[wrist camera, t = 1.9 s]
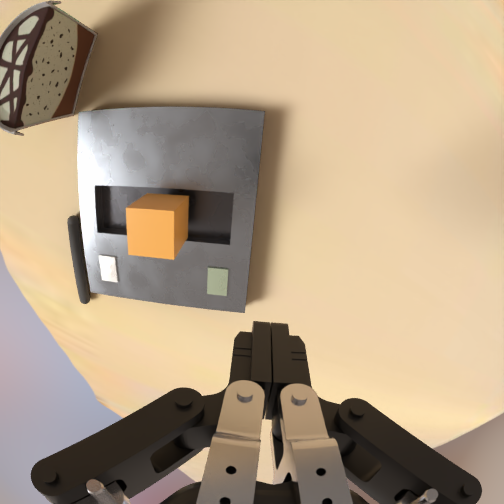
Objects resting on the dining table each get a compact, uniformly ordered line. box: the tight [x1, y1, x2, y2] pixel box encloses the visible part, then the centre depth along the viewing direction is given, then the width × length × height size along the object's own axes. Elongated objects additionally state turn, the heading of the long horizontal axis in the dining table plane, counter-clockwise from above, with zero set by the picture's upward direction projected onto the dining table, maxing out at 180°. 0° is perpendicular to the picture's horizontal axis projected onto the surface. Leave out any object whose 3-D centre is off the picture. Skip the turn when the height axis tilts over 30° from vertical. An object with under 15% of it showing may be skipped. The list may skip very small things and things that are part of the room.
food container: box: [0, 1, 97, 136], centre depth 19 cm, size 12×6×10 cm, turn 162°
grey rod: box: [68, 216, 90, 304], centre depth 32 cm, size 11×1×1 cm, turn 175°
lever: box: [126, 193, 189, 260], centre depth 26 cm, size 4×4×7 cm
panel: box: [78, 107, 265, 313], centre depth 29 cm, size 20×18×2 cm
